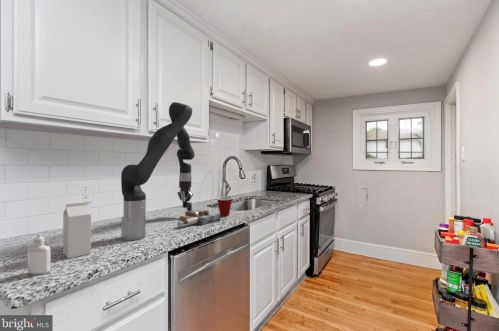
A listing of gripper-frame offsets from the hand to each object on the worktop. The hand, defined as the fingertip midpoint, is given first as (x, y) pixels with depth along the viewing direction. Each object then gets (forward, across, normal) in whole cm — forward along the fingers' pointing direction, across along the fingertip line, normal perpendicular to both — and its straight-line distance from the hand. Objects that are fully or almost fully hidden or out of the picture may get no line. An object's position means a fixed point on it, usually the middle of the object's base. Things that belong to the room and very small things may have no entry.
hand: (184, 207), depth 160 cm
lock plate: (+6, +14, 0) cm, 15 cm away
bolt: (+4, +7, 0) cm, 8 cm away
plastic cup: (+6, +15, +20) cm, 26 cm away
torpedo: (+6, +19, -11) cm, 23 cm away
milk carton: (+6, +22, -66) cm, 70 cm away
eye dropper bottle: (+6, +31, -79) cm, 85 cm away
